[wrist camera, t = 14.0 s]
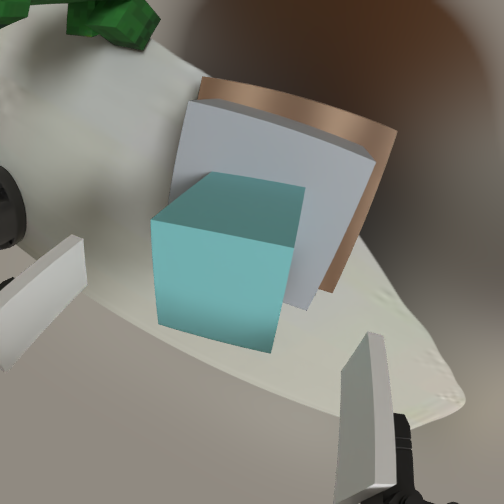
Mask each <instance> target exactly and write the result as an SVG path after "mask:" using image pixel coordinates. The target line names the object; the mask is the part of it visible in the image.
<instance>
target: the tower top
mask: <svg viewBox="0 0 504 504" xmlns="http://www.w3.org/2000/svg"><path fill="white" fill-rule="evenodd" d="M375 164H376V161H375V160H374V159H373V158H372V156H371V155H370V154H369V153H368V152H367V150H366V149H365V148H364V147H363V146H361V145H359V144H356V143H354V142H351V141H349V140H346V139H344V138H341V137H339V136H336V135H334V134H331V133H328V132H326V131H323V130H320V129H317V128H315V127H312V126H309V125H306V124H303V123H300V122H297V121H294V120H291V119H288V118H285V117H282V116H279V115H276V114H273V113H269V112H266V111H263V110H259V109H256V108H252V107H249V106H245V105H242V104H238V103H234V102H230V101H226V100H222V99H203V100H191V101H188V106H187V110H186V114H185V118H184V123H183V127H182V132H181V136H180V141H179V146H178V151H177V156H176V161H175V166H174V171H173V177H172V182H171V188H170V194H169V200H168V205H169V204H170V203H172V202H173V201H174V200H175V199H177V198H178V197H179V196H180V195H182V194H183V193H184V192H186V191H187V190H188V189H189V188H191V187H192V186H193V185H195V184H196V183H197V182H199V181H200V180H201V179H203V178H204V177H205V176H207V175H208V174H209V173H211V172H212V171H213V172H220V173H226V174H233V175H239V176H245V177H251V178H257V179H263V180H269V181H274V182H280V183H285V184H290V185H296V186H301V187H306V188H305V194H304V199H303V204H302V210H301V215H300V220H299V226H298V231H297V236H296V241H295V246H294V251H293V256H292V261H291V265H290V270H289V275H288V280H287V284H286V289H285V293H284V298H283V303H286V304H289V305H292V306H295V307H297V308H300V309H303V310H306V311H307V309H308V307H309V305H310V303H311V302H312V300H313V298H314V296H315V294H316V292H317V290H318V288H319V286H320V284H321V282H322V280H323V278H324V276H325V274H326V272H327V270H328V268H329V266H330V264H331V262H332V260H333V258H334V256H335V254H336V251H337V249H338V247H339V245H340V243H341V241H342V239H343V237H344V234H345V232H346V230H347V228H348V226H349V224H350V221H351V219H352V217H353V215H354V213H355V210H356V208H357V206H358V204H359V201H360V199H361V197H362V194H363V192H364V190H365V187H366V185H367V183H368V180H369V178H370V176H371V173H372V171H373V168H374V166H375Z"/></svg>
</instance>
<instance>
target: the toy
mask: <svg viewBox="0 0 504 504" xmlns="http://www.w3.org/2000/svg"><path fill="white" fill-rule="evenodd" d="M60 3H68V14H67V30H66V34H67V35H78V36H87V37H94V36H96V35H101V36H102V37H104V38H105V39H107V40H108V41H109V42H111V43H112V44H113V45H117V46H123V47H128V48H133V49H138V50H143V49H144V48H145V46H146V44H147V42H148V40H149V39H150V37H151V35H152V33H153V32H154V30H155V28H156V27H157V25H158V23H159V22H160V20H161V19H160V18H159V16H158V15H157V14H156V13H155V11H154V10H153V9H152V8H151V7H150V6H149V4H148V3H147V2H146V1H145V0H0V29H1V28H3V27H5V26H8V25H10V24H12V23H14V22H17V21H19V20H21V19H24V18H26V17H28V12H29V7H30V5H40V4H60Z"/></svg>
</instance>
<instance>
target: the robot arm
mask: <svg viewBox="0 0 504 504" xmlns="http://www.w3.org/2000/svg"><path fill="white" fill-rule="evenodd" d="M25 230H26V215H25V209H24V205H23V201H22V198H21V195H20V192H19V190H18V187H17V185H16V183H15V181H14V180H13V178H12V177H11V175H10V174H9V173H8V172H7V171H6V170H5V169H4V168H3V167H1V166H0V250H2V249H6V248H10V247H12V246H14V245H15V244H17V243H18V242H19V241H21V240H22V238H23V237H24V234H25ZM87 285H88V283H87V274H86V265H85V254H84V242H83V238H80V237H78V236H75V235H72V234H71V235H70V236H69V237H67V238H66V239H64V240H63V241H62V242H60V243H59V244H58V245H56V246H55V247H54V248H52V249H51V250H50V251H48V252H47V253H46V254H45V255H43V256H42V257H41V258H39V259H38V260H37V261H36V262H34V263H33V264H32V265H31V266H29V267H28V268H27V269H26V270H24V271H23V272H22V273H21V274H20V275H18V276H17V277H16V278H13V277H12V278H10V279H8V280H5V281H3V282H2V283H1V284H0V369H1V370H2V371H3V372H5V373H7V372H8V371H9V370H10V369H11V367H12V366H13V365H14V364H15V362H16V361H17V360H18V359H19V358H20V357H21V356H22V354H23V353H24V352H25V351H26V350H27V349H28V347H29V346H30V345H31V344H32V343H33V342H34V341H35V340H36V338H37V337H38V336H39V335H40V334H41V333H42V332H43V331H44V330H45V329H46V328H47V327H48V325H49V324H50V323H51V322H52V321H53V320H54V319H55V318H56V317H57V316H58V315H59V314H60V313H61V312H62V311H63V310H64V308H65V307H66V306H67V305H68V304H69V303H70V302H71V301H72V300H73V299H74V298H75V297H76V296H77V295H78V294H79V293H80V292H81V291H82V290H83V289H84V288H85V287H86V286H87ZM410 439H411V432H410V425H409V423H408V421H407V419H406V417H405V415H404V414H397V413H393V406H392V396H391V387H390V378H389V370H388V363H387V356H386V349H385V342H384V336H383V335H380V334H376V333H372V332H369V331H368V332H367V333H366V335H365V336H364V338H363V339H362V341H361V343H360V344H359V346H358V347H357V349H356V350H355V352H354V353H353V355H352V356H351V358H350V359H349V361H348V362H347V364H346V365H345V366H344V368H343V369H342V371H341V403H340V428H339V444H338V458H337V459H338V460H337V471H336V482H335V491H334V501H333V504H358V503H361V504H434V503H431V502H427V501H425V500H423V497H422V495H421V494H420V493H419V492H418V491H417V490H415V487H414V475H413V457H412V450H411V448H412V443H411V441H410ZM447 504H458V503H456V502H451V503H447Z"/></svg>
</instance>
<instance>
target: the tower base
mask: <svg viewBox="0 0 504 504" xmlns="http://www.w3.org/2000/svg"><path fill="white" fill-rule="evenodd" d="M203 99H222V100H226V101H230V102H234V103H238V104H242V105H245V106H249V107H252V108H256V109H259V110H263V111H266V112H269V113H273V114H276V115H279V116H282V117H285V118H288V119H291V120H294V121H297V122H300V123H303V124H306V125H309V126H312V127H315V128H317V129H320V130H323V131H326V132H328V133H331V134H334V135H336V136H339V137H341V138H344V139H346V140H349V141H351V142H354V143H356V144H359V145H361V146H363V147H364V148H365V149H366V150H367V152H368V153H369V154H370V155H371V156H372V158H373V159H374V160H375V161H376V164H375V166H374V168H373V171H372V173H371V176H370V178H369V180H368V183H367V185H366V187H365V190H364V192H363V194H362V197H361V199H360V201H359V204H358V206H357V208H356V210H355V213H354V215H353V217H352V219H351V221H350V224H349V226H348V228H347V230H346V232H345V234H344V237H343V239H342V241H341V243H340V245H339V247H338V249H337V251H336V254H335V256H334V258H333V260H332V262H331V264H330V266H329V268H328V270H327V272H326V274H325V276H324V278H323V280H322V282H321V284H320V286H319V288H318V289H320V290H324V291H327V292H330V293H333V291H334V289H335V287H336V284H337V282H338V280H339V278H340V276H341V274H342V271H343V269H344V267H345V265H346V263H347V260H348V258H349V256H350V254H351V251H352V249H353V247H354V244H355V242H356V240H357V237H358V235H359V233H360V230H361V228H362V225H363V223H364V221H365V218H366V216H367V213H368V211H369V208H370V205H371V203H372V200H373V198H374V195H375V193H376V190H377V188H378V185H379V182H380V180H381V177H382V174H383V172H384V168H385V166H386V163H387V160H388V157H389V155H390V152H391V148H392V146H393V143H394V140H395V137H396V134H397V131H396V130H394V129H392V128H390V127H388V126H385V125H383V124H380V123H378V122H375V121H373V120H370V119H367V118H365V117H362V116H359V115H357V114H354V113H351V112H348V111H345V110H342V109H339V108H336V107H333V106H330V105H327V104H323V103H320V102H317V101H313V100H310V99H306V98H303V97H300V96H296V95H292V94H288V93H285V92H281V91H277V90H272V89H268V88H264V87H260V86H255V85H251V84H246V83H241V82H236V81H231V80H225V79H218V78H211V77H203V76H202V80H201V85H200V90H199V95H198V99H197V100H203Z"/></svg>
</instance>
